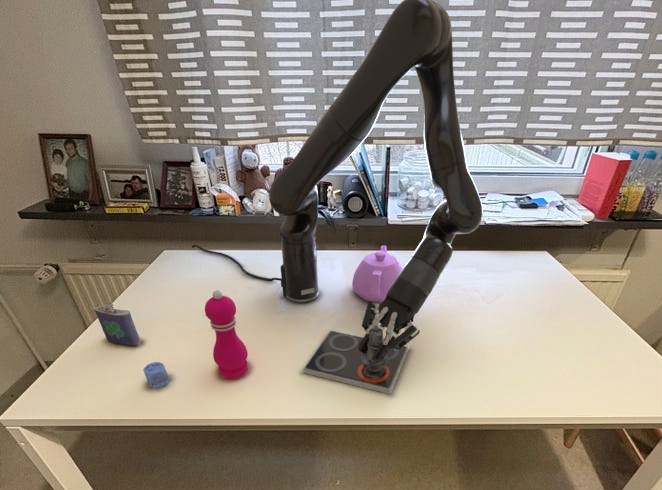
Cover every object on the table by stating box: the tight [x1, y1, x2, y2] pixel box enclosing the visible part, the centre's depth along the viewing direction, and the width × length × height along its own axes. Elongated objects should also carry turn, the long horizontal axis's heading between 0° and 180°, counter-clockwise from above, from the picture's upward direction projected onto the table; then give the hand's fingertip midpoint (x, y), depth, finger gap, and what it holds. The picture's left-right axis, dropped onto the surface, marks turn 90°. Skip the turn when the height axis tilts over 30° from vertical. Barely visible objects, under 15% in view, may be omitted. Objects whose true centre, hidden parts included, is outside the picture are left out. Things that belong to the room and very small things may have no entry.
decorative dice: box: [142, 361, 170, 389], centre depth 87 cm, size 4×4×4 cm
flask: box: [94, 302, 142, 348], centre depth 96 cm, size 9×3×11 cm, turn 74°
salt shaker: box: [361, 325, 389, 379], centre depth 85 cm, size 6×6×12 cm
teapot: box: [351, 245, 403, 303], centre depth 117 cm, size 22×16×12 cm
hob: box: [302, 330, 409, 395], centre depth 94 cm, size 20×16×2 cm
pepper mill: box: [204, 290, 249, 380], centre depth 85 cm, size 7×7×20 cm
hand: (368, 356), depth 85 cm, fingers closed on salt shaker, 3 cm apart
